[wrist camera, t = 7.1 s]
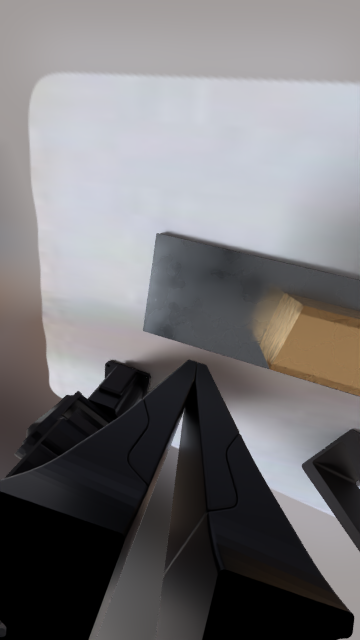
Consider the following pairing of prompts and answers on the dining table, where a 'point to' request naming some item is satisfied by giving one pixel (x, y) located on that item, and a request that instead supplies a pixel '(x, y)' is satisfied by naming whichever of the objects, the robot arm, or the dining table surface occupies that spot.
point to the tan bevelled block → (315, 342)
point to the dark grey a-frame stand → (339, 480)
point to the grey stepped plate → (229, 296)
